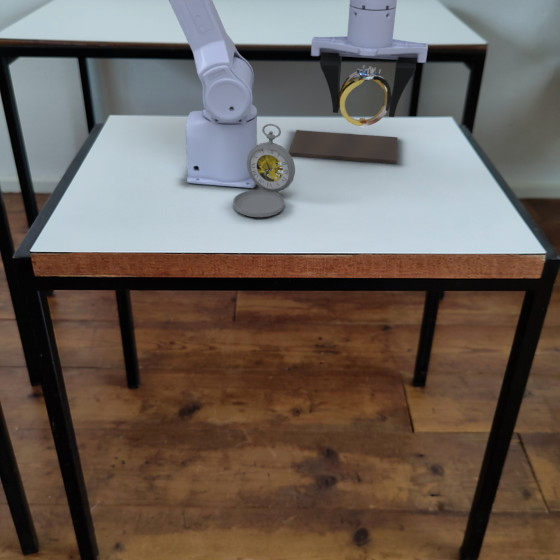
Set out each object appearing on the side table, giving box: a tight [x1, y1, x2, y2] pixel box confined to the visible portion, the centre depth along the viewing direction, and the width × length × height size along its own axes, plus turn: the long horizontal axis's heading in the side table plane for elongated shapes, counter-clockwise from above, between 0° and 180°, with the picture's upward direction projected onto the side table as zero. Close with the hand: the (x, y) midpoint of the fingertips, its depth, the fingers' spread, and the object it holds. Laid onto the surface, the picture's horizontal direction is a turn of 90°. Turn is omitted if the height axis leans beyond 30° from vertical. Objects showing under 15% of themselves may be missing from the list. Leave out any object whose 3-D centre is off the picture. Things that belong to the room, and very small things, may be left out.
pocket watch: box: [232, 123, 296, 218], centre depth 87 cm, size 8×8×10 cm
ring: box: [339, 65, 392, 129], centre depth 91 cm, size 7×3×8 cm, turn 95°
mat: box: [288, 129, 398, 165], centre depth 106 cm, size 16×9×1 cm, turn 82°
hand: (363, 112), depth 93 cm, fingers closed on ring, 7 cm apart
